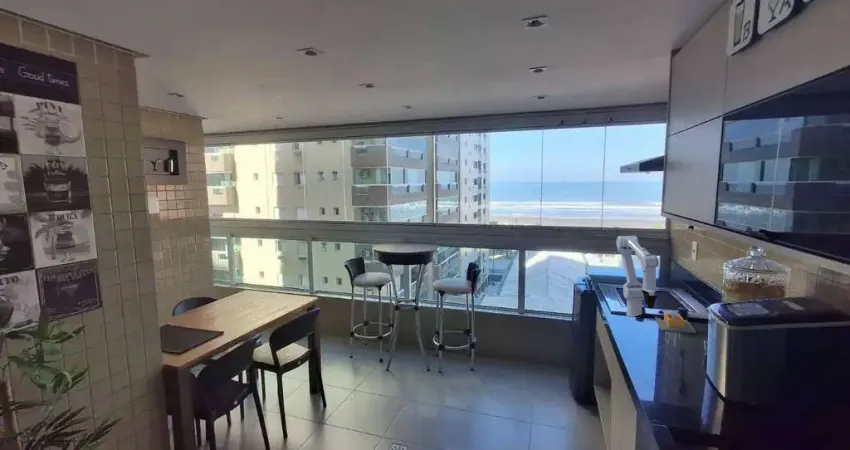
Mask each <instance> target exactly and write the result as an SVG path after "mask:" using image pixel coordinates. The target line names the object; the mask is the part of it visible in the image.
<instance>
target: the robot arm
mask: <svg viewBox="0 0 850 450" xmlns="http://www.w3.org/2000/svg"><path fill="white" fill-rule="evenodd" d="M615 243H616V248H617V252H618V253H620V256H621V259H622V264H623V267H624V268H623V269H624V273H625V278H626V282H625V283H624V284H623V286H622V288H623V289H622V290H623V291H622V293H623V297H624V298H625V299H626V310H625V311H626V312H627V313H626V312H625V315H626V314H627V315H626V316H627V317H630V318H636V317H635V316H638V315H641V314H643V309H642V308H643V300H644V302H645V304H646V305H647V308H648V309H654V306H655V303H656V300H657V298H658V295H657V294H655V292H656V291H659V287H657V284H656V283H657V267H658V266H659V264H660V262H659V259H658V257H657V255H653V254H651V253H650V252H649V251H648V250H647V249H646V248H645V247H642V246H641V245H640V244H639V238H638V237H637V235H621V236H620V235H618V236H617V237H616V241H615ZM634 252H635V256H636V258H637V259H638V260H640V266H641V270H642V283H641V282H640V281H638V279H637V278H638V277H637V274H636V270H635V265H634V261H633V256H632V253H634Z"/></svg>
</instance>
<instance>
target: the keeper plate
mask: <svg viewBox="0 0 850 450" xmlns="http://www.w3.org/2000/svg"><path fill="white" fill-rule="evenodd" d="M670 314H671V319H677V315H676V314H677V313H675V312H672V313H670ZM657 317H658V316H655V318H656V320H655V322H656V321H657V322H656V323H657V325H658V327H659V328H660V330H661V331H662V332H670V333H671V332H673V333H685V334H687V333H688V334H696V333H697V331H696V329H695V328H694V327H693V326H692V325H691V323H690V322H689V321H688V320H687V319H686V320H685V328H679V327H668V325H667V324H666V322H665V321H664V320H661V319H660V318H657ZM655 318H654V319H655Z"/></svg>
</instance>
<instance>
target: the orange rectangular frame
mask: <svg viewBox="0 0 850 450" xmlns="http://www.w3.org/2000/svg"><path fill="white" fill-rule="evenodd" d="M671 314H672V313H665V312H664V313H663V317H664V321H665V322H666V324H667V325H668V327H679V328H685V320H684V319H683V318H684V317H682V316H681V314H680V313H675V314H676V315H677V319H671Z"/></svg>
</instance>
